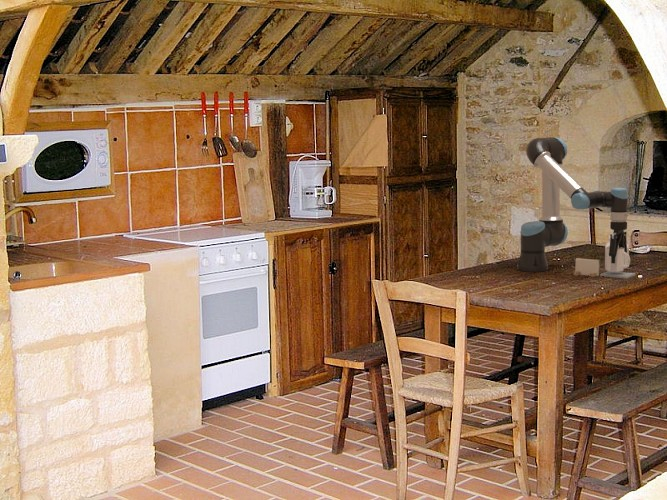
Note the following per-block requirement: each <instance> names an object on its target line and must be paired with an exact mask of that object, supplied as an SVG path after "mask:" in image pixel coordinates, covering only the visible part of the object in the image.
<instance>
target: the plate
mask: <svg viewBox="0 0 667 500" xmlns="http://www.w3.org/2000/svg"><path fill="white" fill-rule="evenodd" d="M636 275H637V273H636V272H624V271H621V272H610V271H605V272H603V273H599V277H602V276H604V278H614V279H626V280H627V279H630V278H633V277H635V276H636Z"/></svg>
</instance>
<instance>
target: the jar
mask: <svg viewBox="0 0 667 500" xmlns="http://www.w3.org/2000/svg"><path fill="white" fill-rule="evenodd" d="M606 247H610V236H608V242H607V243H606V244H605V246H604V249H605V248H606ZM618 247H619V245H618ZM627 254H628V255H629V256H630V245H629V244H628V243H627ZM628 264H629V258H628V257H627V256H625V265H628ZM629 267H630V264H629V266H628V267H627V268H626V269H628V268H629Z"/></svg>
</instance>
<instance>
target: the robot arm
mask: <svg viewBox="0 0 667 500" xmlns="http://www.w3.org/2000/svg"><path fill="white" fill-rule="evenodd" d="M525 150H526V151H525V154H526V156H527V159H528V161H529V162H530V163H531V164H532V165H533V166H534V167H535V168H536V169H537V168H539V169H540V170H541V213H542V214H541V217H539V219H538V220H539V221H538V220H537V221H536V220H535V221H528V222H525V223H522V225H521V226H520V234H519V235H520V255H519V258H518V260H517V264H516V269H517V271H520V272H521V271H522V272H544V271H548V270H549V264H548V260H547V257H546V255H545V254H546V252H545V251H546V250H545V249H546V247H556V246H559V245H562V244H563V243H564V242H565V241H566V240H567V238H568V234H569V233H568V231H569V230H568V227H567V226H566V224H565V223H564V218H563V217H561V215H560V214H561V213H560V211H561V209H560V207H561V205H560V201H561V200H560V198H561V197H560V195H561V194H560V192H561V191H562V192H563V193H564V194H565V195H567V197H568V198H569V199H570V203H571V205H572V207H573V208H574V209H576V210H587V209H598V208H607V209H610V219H609V220H610V225H609V227H610V230H611V231H613V233H612V234H611V233H610V248H609V256H611V270H617V256H616V255H617V250H618V245H619V248H621V247H622V248H624V252H626V253H627V244H628V241H627V234H628V232H627V231H625V230H627V229H628V222H627V221H628V217H629V213H628V201H629V194H628V193H629V191H628V189H627V188H625V187H612V188H611V189H610V191H603V190H592V191H590V192H588V191H587V190H585V189H584V187H582V186H581V184H579V183H578V182H577V181H576V180H575V179H574V178H573V177H572V176H571V175H570V174H569V173H568V172H567V171H566V170H565V169H564V168H563V167H562V166H563V161H564V159H565V158H566V156H567V154H568V147H567V144H566V142H565V141H564V140H563V139H561V138H559V137H554V136H550V137H536V138H533V139H531V140H530V141H529V142H528V144H527V146H526V148H525ZM560 190H561V191H560ZM624 265H625V255H624Z"/></svg>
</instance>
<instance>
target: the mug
mask: <svg viewBox="0 0 667 500" xmlns="http://www.w3.org/2000/svg"><path fill="white" fill-rule="evenodd" d="M609 248H610V247H606V248H605V247H604V251H605V252H604V270H605V272H608V271H610V272H624V269H628V268H629V267H630V264H631V257H630V254H629V255H628V254H627V253H626V252H624V248H622V247H621V248H619V247H618V250H617V255H616V256H617V270H611V256H609ZM624 255H625V256H627V257H628V258H629V264H628V265H624ZM628 266H629V267H628ZM627 267H628V268H627Z"/></svg>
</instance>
